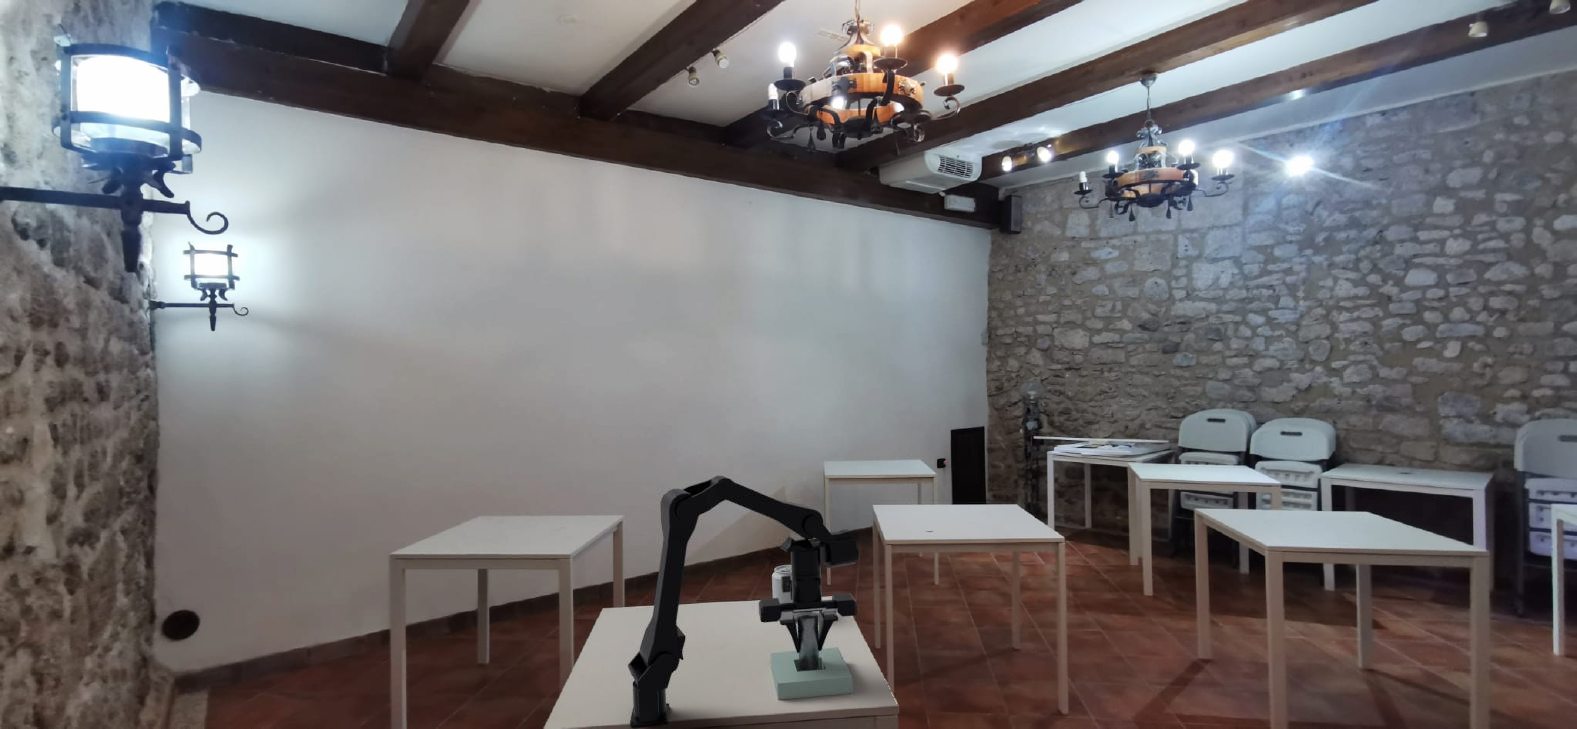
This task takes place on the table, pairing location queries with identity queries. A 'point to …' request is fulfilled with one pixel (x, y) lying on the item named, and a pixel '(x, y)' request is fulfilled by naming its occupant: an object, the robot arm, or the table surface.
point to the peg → (808, 641)
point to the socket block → (810, 675)
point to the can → (776, 585)
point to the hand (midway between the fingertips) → (808, 651)
